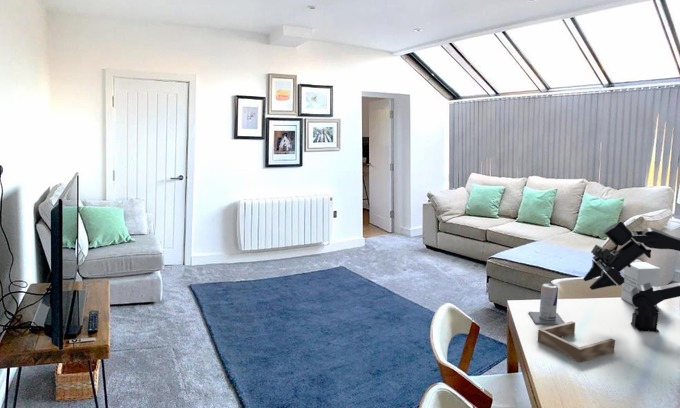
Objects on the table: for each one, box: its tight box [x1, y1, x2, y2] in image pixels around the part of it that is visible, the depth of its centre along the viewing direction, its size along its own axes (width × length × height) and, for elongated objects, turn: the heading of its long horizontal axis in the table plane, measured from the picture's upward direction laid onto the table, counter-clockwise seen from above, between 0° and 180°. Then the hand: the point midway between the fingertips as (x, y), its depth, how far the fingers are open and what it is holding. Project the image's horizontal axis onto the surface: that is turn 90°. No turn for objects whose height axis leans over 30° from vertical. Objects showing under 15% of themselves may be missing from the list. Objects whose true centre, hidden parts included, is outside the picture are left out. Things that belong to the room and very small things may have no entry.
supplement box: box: [620, 261, 662, 307], centre depth 188 cm, size 9×9×15 cm
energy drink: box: [539, 282, 559, 320], centre depth 172 cm, size 5×5×12 cm
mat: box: [528, 311, 566, 326], centre depth 173 cm, size 10×10×1 cm
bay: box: [537, 321, 616, 363], centre depth 151 cm, size 15×15×4 cm
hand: (587, 284), depth 169 cm, fingers open, 9 cm apart
